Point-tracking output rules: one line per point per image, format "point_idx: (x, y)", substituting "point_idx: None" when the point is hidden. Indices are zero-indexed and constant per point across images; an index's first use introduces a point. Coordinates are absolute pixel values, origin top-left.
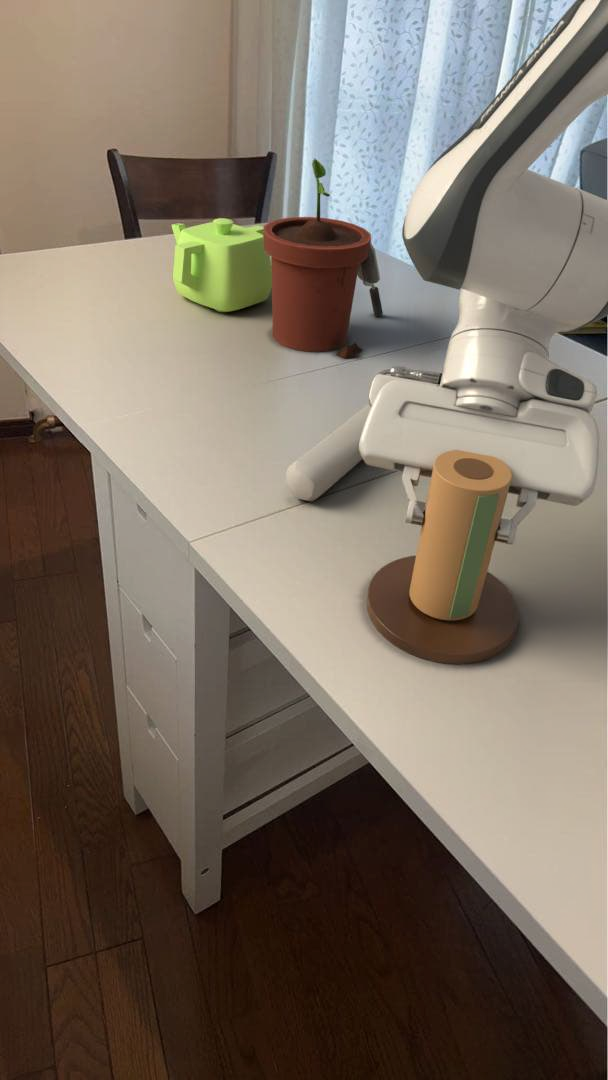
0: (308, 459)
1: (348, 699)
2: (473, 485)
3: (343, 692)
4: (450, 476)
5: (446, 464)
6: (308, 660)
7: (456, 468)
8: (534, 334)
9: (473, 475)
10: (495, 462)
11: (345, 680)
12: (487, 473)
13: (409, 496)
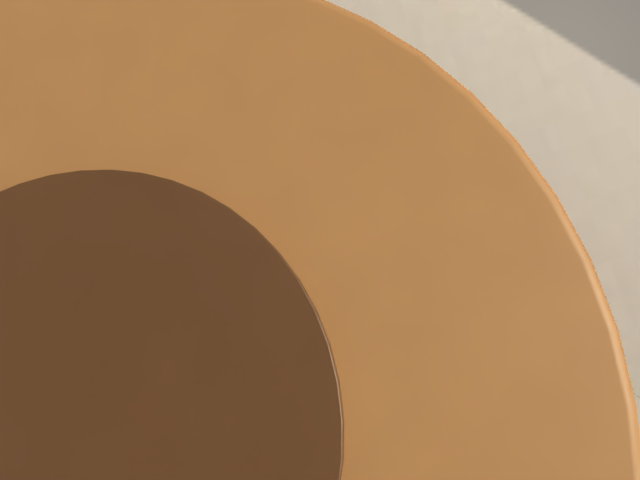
0: None
1: (485, 11)
2: (72, 44)
3: (502, 25)
4: (348, 127)
5: (450, 408)
6: (615, 84)
7: (292, 332)
8: None
9: (64, 239)
10: None
11: (508, 58)
12: None
13: (637, 400)
